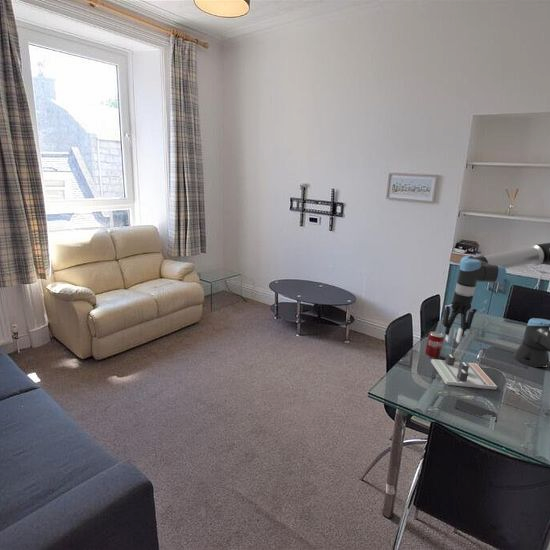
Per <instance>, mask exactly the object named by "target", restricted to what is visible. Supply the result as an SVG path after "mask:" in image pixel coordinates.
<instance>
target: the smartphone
mask: <svg viewBox="0 0 550 550" xmlns="http://www.w3.org/2000/svg"><path fill="white" fill-rule="evenodd" d="M453 407H454V409H456V408H457V409H456V410H458V409H460V410H459V411H461V410H462V411H461V412H463V413H466V412H468V413H467V414H469V413H471V414H470V415H472V414H474V415H473V416H475V415H478V416H483V415H487V414H488V415H492V417H496V418H497V412H495V411H492V410H489V409H487V408H484V407H482V406H478V405H476V404H474V403H470V402H468V401H465V400H462V399H460V398H456V399H455V401H454V405H453ZM478 416H477V417H478Z"/></svg>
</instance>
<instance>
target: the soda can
mask: <svg viewBox="0 0 550 550" xmlns="http://www.w3.org/2000/svg"><path fill="white" fill-rule="evenodd" d="M444 340H445V335H444V334H443V333H441V332H439V331H430V332H429V333H428V336H427V341H426V346H425V350H424V354H425V356H427V357H428V358H431V359H436V360H437V359H439V358H440V357H441V354H442V348H443V345H444Z"/></svg>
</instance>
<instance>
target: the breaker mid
mask: <svg viewBox="0 0 550 550" xmlns="http://www.w3.org/2000/svg"><path fill="white" fill-rule="evenodd" d="M459 362H460V364H459V368H458V370H461V369H463V370H466V372H467V373H468V369H469V366H468V364H467V363H468V362H466V363H464V361H459ZM461 362H462V363H461Z"/></svg>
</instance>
